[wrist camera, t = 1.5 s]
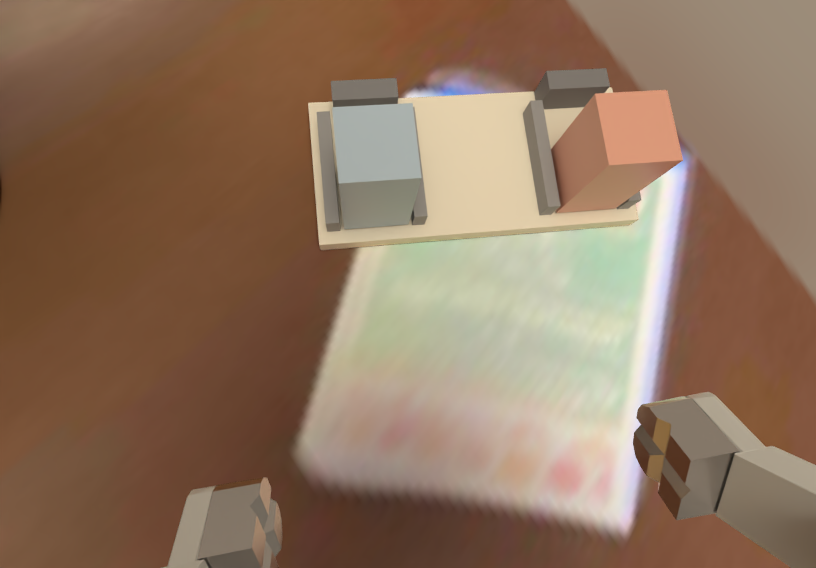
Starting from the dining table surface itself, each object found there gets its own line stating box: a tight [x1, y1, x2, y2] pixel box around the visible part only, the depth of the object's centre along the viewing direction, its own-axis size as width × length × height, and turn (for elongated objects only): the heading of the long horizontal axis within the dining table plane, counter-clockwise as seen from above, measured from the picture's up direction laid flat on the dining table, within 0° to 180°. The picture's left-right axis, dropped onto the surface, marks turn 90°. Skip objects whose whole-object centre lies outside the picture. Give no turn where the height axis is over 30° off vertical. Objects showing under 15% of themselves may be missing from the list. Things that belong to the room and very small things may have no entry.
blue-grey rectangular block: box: [332, 103, 421, 229], centre depth 35 cm, size 5×5×9 cm
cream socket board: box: [308, 68, 641, 250], centre depth 41 cm, size 12×26×4 cm, turn 96°
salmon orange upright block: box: [551, 90, 683, 213], centre depth 37 cm, size 5×5×9 cm
